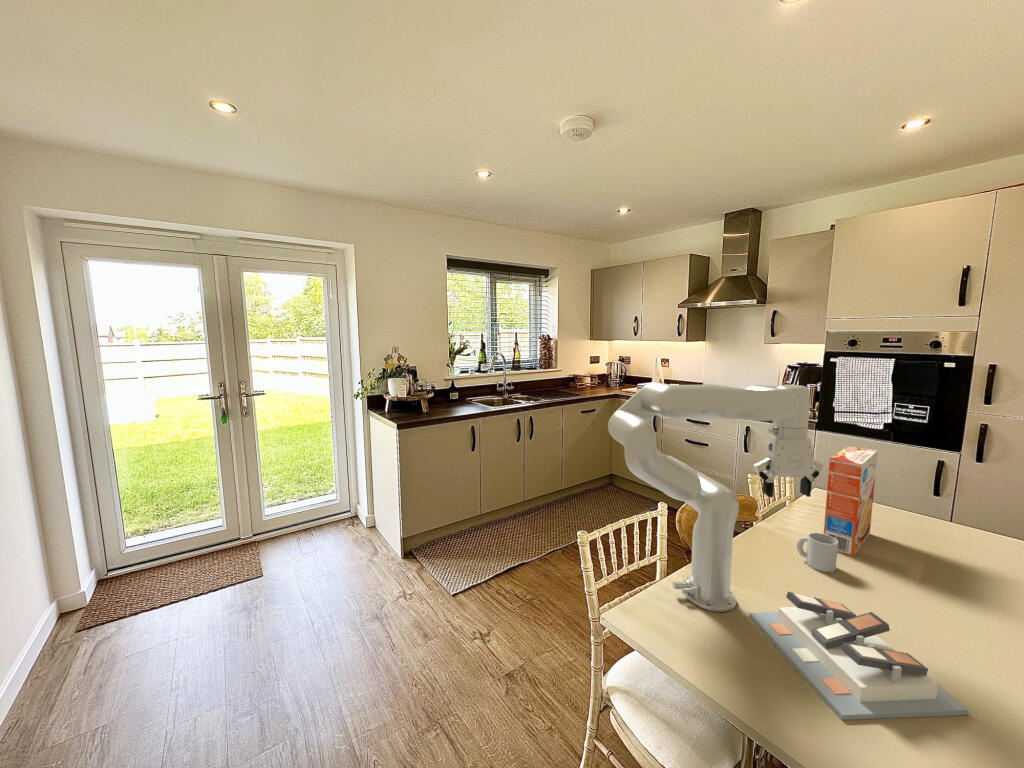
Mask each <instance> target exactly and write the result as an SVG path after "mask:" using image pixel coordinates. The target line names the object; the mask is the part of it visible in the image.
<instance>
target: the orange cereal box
mask: <svg viewBox="0 0 1024 768" xmlns="http://www.w3.org/2000/svg"><path fill="white" fill-rule="evenodd" d="M877 463H878V450H876V449H870V448H864V447H863V448H862V447H856V446H850V445H847V446H846V447H844V448H843V449H842V450H840V451H839V452H837V453H836V454H834V455H833V456H832V457H830V458H829V464H828V476H827V489H826V501H825V514H824V515H825V516H824V524H823V525H824V526H823V527H824V528H823V534H826V535H829V536H831V537H833V538H835V539H836V540H837V541H838V549H837V551H839V552H838V553H840V554H844V555H848V556H850V555H851V556H850V557H853V556H854V557H855V556H856V554H857V553H856V552H858V551H859V550H860V548H861V547H862V546H863V544H864V543H865V541H866V540H867V539H868V537H869V536H870V534H871V526H872V525H871V523H872V513H873V503H874V502H873V501H874V492H875V483H876V471H877ZM869 533H870V534H869ZM868 535H869V536H868ZM867 536H868V537H867ZM865 539H866V540H865ZM864 540H865V541H864ZM863 542H864V543H863ZM862 543H863V544H862ZM861 545H862V546H861ZM860 546H861V547H860ZM858 549H859V550H858Z"/></svg>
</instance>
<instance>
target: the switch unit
mask: <svg viewBox="0 0 1024 768" xmlns="http://www.w3.org/2000/svg"><path fill="white" fill-rule="evenodd" d="M809 596H810V597H814V598H816V596H815V595H809ZM833 613H834V612H833V611H832V610H826V614H821V613H817V612H813V611H808V610H804V609H800V608H797V607H796V606H789V607H787V606H785V607H784V606H783V607H778V611H771V612H769V611H767V612H749V614H748V615H749V619H750V620H752V622H754V624H755V625H756V626H757V627H758V628H759V629H760V630H761V631H762V632H763V634H764V635H765V636H766V637H767V638H768V639H769V640H770V641H771V643H772V644H773V645H774V646H775V647H776V649H778V650H779V651H780V653H781V654H782V655H783V656H784V657H785V659H787V661H789V663H790V664H791V666H793V667H794V669H795V670H796V671H797V672H798V673H799V674H800V675H801V676H802V677H803V678H804V679H805V681H806V682H807V683H808V684H809V685H810V686H811V687H812V688H813V690H814V691H815V692H816V693H817V695H819V696H820V698H821V699H822V700H823V701H824V702H825V703H826V704H827V705H828V706H829V708H831V710H832V711H833V712H834V713H835V715H836V716H837V717H839V719H840V720H841V721H848V720H849V721H850V720H851V721H852V720H872V719H873V720H874V719H875V720H876V719H896V718H897V719H899V718H902V719H903V718H919V717H920V718H921V717H922V718H923V717H941V716H942V717H948V716H949V717H951V716H969V712H970V709H968V708H967V707H966V706H964V705H963V704H962V703H961V702H960V701H958V700H957V699H956V698H954V697H953V696H952V695H951V694H949V693H948V691H946V690H945V689H943V688H942V687H940V685H939V684H938V683H936V681H934V680H933V679H932V678H931V677H929V676H928V675H926V676H922V675H916V674H910V673H904V672H901V671H902V668H901V667H900V666H893V667H892V670H886V669H880V668H874V667H868V666H862V665H858V664H857V663H855V662H854V661H853V660H852V659H851V658H850V657H849V656H848V655H847V654H846V653H845V652H843V651H842V650H841V647H842V645H839V646H835V647H832V648H828V649H825V648H824V647H823V646H822V645H821V644H820V643H819V642H818V641H817V640H816V639H815V638H814V637H813V636H812V634H811V629H814V628H818V627H821V626H824V625H828V624H831V623H835V622H838V621H842V620H845V619H843V618H839V617H835V616H833ZM849 643H850V644H856V645H862V646H868V647H874V648H879V649H885V650H891V651H896V650H895V649H894V648H893V647H891V646H890V645H889V644H888V643H887V642H885V641H884V640H883V639H882V638H881V637H879V636H878V635H873V636H870V637H866V638H864V637H863V636H862V635H861V636H856V641H853V642H849Z"/></svg>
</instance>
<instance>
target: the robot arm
mask: <svg viewBox="0 0 1024 768" xmlns="http://www.w3.org/2000/svg"><path fill="white" fill-rule="evenodd" d="M810 395H811V392H810V390H809V388H808V387H807V386H804V385H799V384H780V385H764V384H753V385H750V386H747V387H746V388H739V387H733V386H729V385H723V384H709V383H708V384H668V383H664V382H658V381H653V382H649V383H647V384H646V385H644V386H643V387H641V388H640V389H639V390H637V391H636V392H635V393H634V394H633V395H632V396H631V397H630V398H628V400H626V402H625V403H623V404H622V405H621V406H620V407H619V408H617V410H616V411H614V412H613V414H612V415H611V416H610V417H609V420H608V423H607V430H608V433H609V434H610V436H611V437H612V439H614V440H615V441H616V442H618V443H619V444H621V445H622V446H623V448H624V449H623V450H624V459H625V463H626V464H625V465H626V466H627V468H628V470H629V472H630V473H632V474H633V475H634V476H635V477H637V478H638V479H639V480H642V481H644V482H645V483H647V484H649V485H650V486H651V487H654V488H655V489H657V490H658V491H660V492H662V493H664V494H665V495H667V496H668V497H670V498H672V499H674V500H677V501H681V502H684V503H686V504H687V505H688V506H690V507H691V508H692V509H694V510H695V511H696V513H697V514H698V515H697V519H696V521H695V522H694V525H693V528H692V538H691V539H692V542H691V544H692V546H691V565H690V567H691V568H690V575H686V579H684V580H683V581H680V580H679V581H678V580H675V581H672V588H673V589H674V590H680V591H681V593H682V594H683V595H685V597H686V598H687V599H688V600H689V601H690V602H691V603H692V604H694V605H695V606H697V607H699V608H702V609H703V610H708V611H711V612H717V613H720V612H721V613H723V612H724V613H725V612H729V611H732V610H734V608H735V607H736V605H737V597H736V595H735V594H734V593H733V591H732V590H731V579H732V562H733V560H732V559H733V544H734V543H733V541H734V530H735V524H736V521H737V518H738V514H739V509H740V504H739V501H738V498H737V496H736V495H735V493H734V492H733V491H732V490H731V489H730V488H729V487H727V486H725V485H724V484H722V483H720V482H718V481H717V480H715V479H713V478H712V477H709V476H707V475H706V474H705V473H703V472H700V471H699V470H697V469H695V468H693V467H692V466H690V465H688V464H687V463H685V462H683V461H681V460H679V459H678V458H675V456H672V455H669V454H668V455H667V454H665V453H663V452H661V451H659V449H658V447H657V436H656V435H657V434H656V431H655V429H654V426H653V425H652V423H651V422H650V421H651V419H653V418H654V417H655V416H657V417H659V418H663V419H669V420H675V419H676V420H677V419H721V420H740V421H741V420H743V421H760V422H761V421H762V422H763V421H764V422H765V421H773V422H772V423H773V424H772V427H771V428H770V427H769V428H768V433H769V434H772V435H770V437H769V439H768V443H767V449H766V452H765V453H766V454H765V458H763V460H760V461H759V462H757V463H754V464H753V468H754V470H755V472H756V474H757V475H758V476H759V478H760V479H762V492H763V494H764V495H765V496H767V497H768V498H773V497H774V482H773V480H775V478H776V477H778V478H795V477H796V478H799V477H800V485H799V486H800V487H799V493H801V494H802V495H804V496H805V497H809V498H810V497H811V495H812V494H811V493H812V486H813V485H812V484H813V482H815V479H817V477H818V476H819V475H820V472H821V470H822V469H823V468H824V465H823V464H822V463H820V462H818V461H816V460H814V450H813V443H812V439H811V437H808V435H809V434H808V431H809V416H810V414H809V413H810ZM764 468H765V472H764V471H763V469H764Z"/></svg>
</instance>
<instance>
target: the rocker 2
mask: <svg viewBox="0 0 1024 768" xmlns="http://www.w3.org/2000/svg"><path fill="white" fill-rule="evenodd" d="M890 630H891V628H890V625H889V623H887V622H886V621H885V620H884V619H882V617H879V616H878V615H877V614H875V613H874V612H873V611H870V612H865V613H864V614H863V613H862V614H860V615H856V617H852V618H849V619H845V620H842V621H838V622H835V623H831V624H828V625H824V626H821V627H818V628H814V629H811V634H812V636H813V637H814V638H815V639H816V640H817V641H818V642H819V643H820V644H821V645H822V646H823V647H824V648H825V649H828V648H832V647H835V646H839V645H842V644H843V642H844V643H849V642H853V641H856V636H861V635H862V636H863V637H864V638H866V637H870V636H873V635H876V636H878V635H880V634H883V633H887V632H890Z"/></svg>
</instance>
